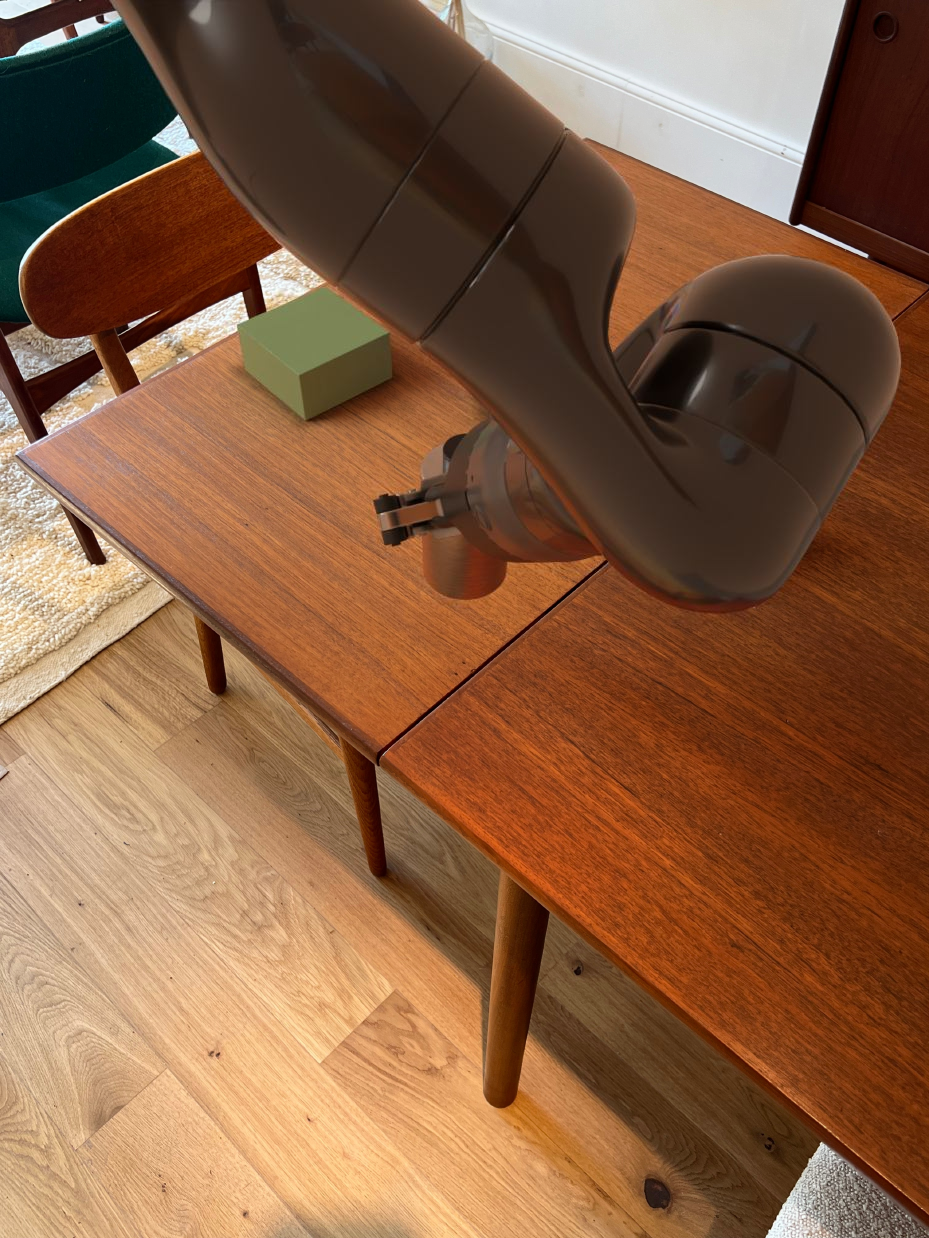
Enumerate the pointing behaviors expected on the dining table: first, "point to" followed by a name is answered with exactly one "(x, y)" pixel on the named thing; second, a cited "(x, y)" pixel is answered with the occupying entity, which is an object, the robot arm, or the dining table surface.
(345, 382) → the block
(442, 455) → the flask
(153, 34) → the robot arm
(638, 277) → the dining table surface
